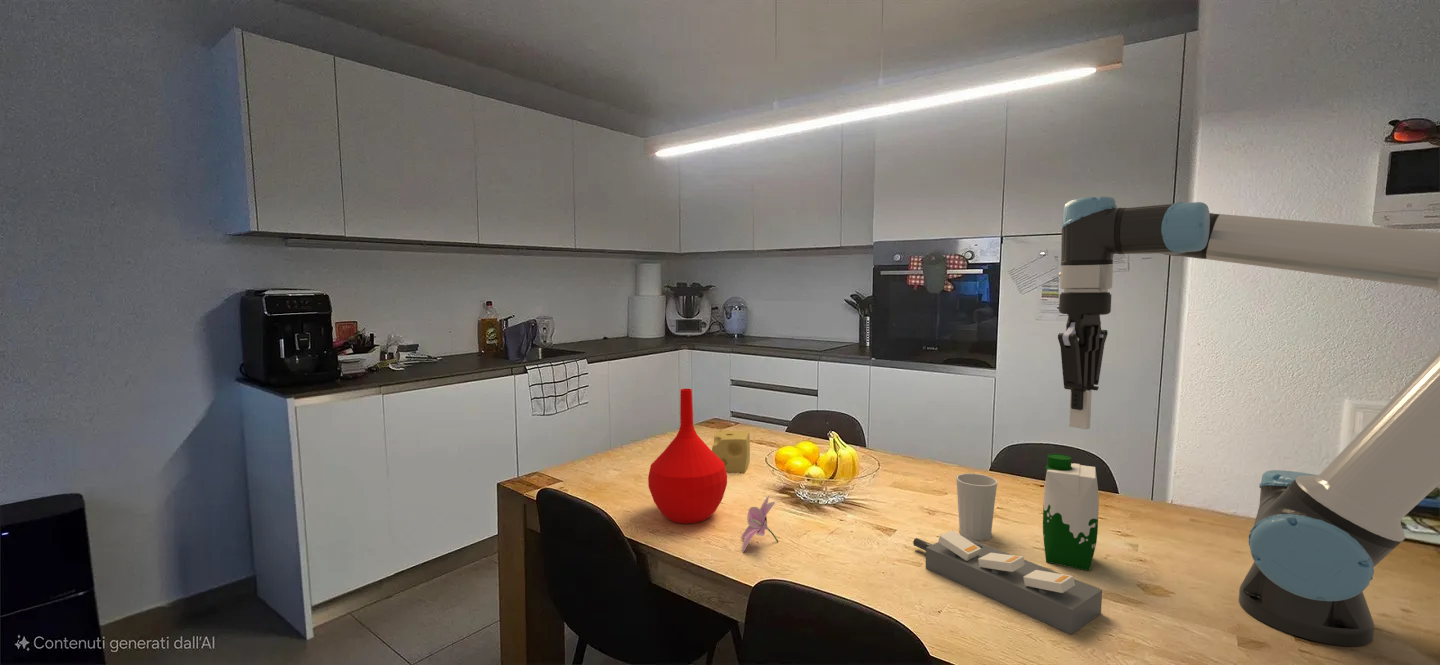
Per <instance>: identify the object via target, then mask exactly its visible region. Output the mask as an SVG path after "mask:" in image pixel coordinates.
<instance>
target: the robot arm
mask: <svg viewBox="0 0 1440 665" xmlns="http://www.w3.org/2000/svg"><path fill="white" fill-rule="evenodd" d="M1116 204H1117V203H1116V199H1115V197H1111V196H1093V197H1092V196H1090V197H1080V198H1075V199H1070V200H1068V202H1066V203H1065V204H1064V207H1063V213H1062V225H1061V227H1060V230H1061V248H1060V250H1061V257H1060V258H1061V259H1060V271H1059V272H1058V276H1059V277H1060V281H1059V283H1060V284H1059V287H1060V289H1061V290H1063V292H1061V293H1060V294H1059V299H1058V304H1059V305H1058V311H1059V313H1060V314H1062V315H1067V321H1066V325H1065V333H1063V332H1062V333H1061V332H1059V333H1058V334H1057V340H1058V343H1059V347H1060V355H1061V356H1060V357H1061V368H1062V379H1063V388H1064V390H1070V399H1069V400H1070V402H1069V403H1070V404H1069V427H1070V428H1071V427H1072V428H1076V429H1083V430H1088V429H1091V418H1092V417H1091V414H1092V412H1091V411H1092V409H1091V408H1092V395H1093V394H1092V391H1096V392H1097V391H1098V390H1099V388H1100V387H1099V386H1097V385H1099V384H1100V383H1099V382H1100V376H1101V369H1102V364H1103V357H1104V356H1103V355H1104V349H1105V343H1106V340H1107V337H1108V333H1109V332H1108V330H1106V329H1102V326H1101V324H1102V322H1101V316H1104V315H1108V314H1110V313H1111V312H1112V293H1111V292H1108V291H1109V290H1110V289H1112V288H1113V275H1114V274H1113V273H1114V271H1113V270H1114V264H1113V263H1114V262H1113V261H1114V255H1143V254H1144V255H1145V254H1147V255H1148V254H1150V255H1151V254H1158V255H1159V254H1160V255H1165V256H1172V257H1185V258H1192V259H1200V260H1211V261H1217V262H1224V263H1225V262H1226V263H1234V264H1240V265H1249V266H1256V267H1262V268H1263V267H1265V268H1271V269H1272V268H1273V269H1280V270H1287V271H1295V272H1303V273H1310V274H1311V273H1312V274H1318V275H1324V276H1325V275H1326V276H1334V277H1341V278H1342V277H1343V278H1349V279H1356V280H1363V281H1364V280H1365V281H1373V282H1379V283H1380V282H1381V283H1386V284H1387V283H1388V284H1394V285H1395V284H1396V285H1403V286H1410V287H1417V288H1418V287H1419V288H1425V289H1432V290H1434V291H1435V292H1436V293H1437V294H1438V295H1439V296H1440V231H1430V230H1429V231H1428V230H1416V229H1405V228H1395V227H1394V228H1392V227H1382V226H1381V227H1380V226H1368V225H1357V224H1355V225H1354V224H1343V223H1332V222H1319V221H1309V220H1307V221H1306V220H1295V219H1284V218H1272V217H1271V218H1270V217H1262V216H1261V217H1259V216H1249V215H1237V214H1235V215H1234V214H1224V213H1222V214H1221V213H1213V212H1210V210H1209V206H1208V204H1206V203H1204V202H1201V201H1200V202H1199V201H1197V202H1195V201H1194V202H1181V201H1178V202H1175V203H1166V204H1154V205H1146V206H1144V205H1143V206H1134V207H1133V206H1132V207H1118V205H1116ZM1439 485H1440V349H1439V350H1438V351H1437V352H1436V354H1434V356H1432V357H1431V358H1430V359H1429V361H1427V362H1426V363H1425V365H1423V367H1422V368H1421V369H1420V370H1419V371H1418V372H1417V373H1416V374H1415V375H1413V377H1412V378H1411V379H1410V380H1409V381H1408V382H1407V383H1406V385H1404V386H1403V388H1402V389H1400V391H1399V392H1397V393H1396V395H1395V396H1394V397H1393V398H1392V399H1391V400H1390V401H1389V402H1387V404H1386V405H1385V406H1384V407H1383V408H1382V409H1381V410H1379V413H1377V415H1376V416H1375V417H1373V418H1372V419H1371V421H1369V423H1368V424H1366V426H1365V427H1364V428H1363V429H1362V430H1361V431H1360V432H1359V433H1358V434H1357V435H1356V436H1355V437H1354V439H1352V440H1351V442H1349V443H1348V445H1347V446H1346V447H1345V448H1344V449H1343V450H1342V451H1341V452H1340V453H1339V454H1338V455H1337V456H1336V457H1335V458H1334V459H1333V460H1332V461H1331V462H1330V464H1328V466H1326V467H1325V468H1324V469H1323V471H1321V472H1320V474H1312V473H1307V472H1299V471H1291V470H1279V469H1276V470H1275V469H1273V470H1267V471H1265V472H1263V473H1262V476H1261V481H1260V482H1259V485H1258V487H1259V488H1260V493H1259V494H1260V496H1259V503H1258V504H1259V505H1258V506H1259V507H1258V510H1257V513H1256V516H1255V519H1254V523H1253V526H1252V528H1251V529H1250V531H1249V534H1248V546H1249V550H1250V554H1251V558H1252V560H1253V563H1252V565H1251V567H1250V568H1249V570H1248V572H1247V574H1246V576H1245V578H1244V579H1243V581H1242V582H1241V584H1240V586H1239V592H1238V604H1239V605H1240V606H1241V608H1242V609H1243V610H1244V611H1245V612H1247V614H1249V615H1250V616H1252V617H1253V618H1255V619H1257V620H1258V621H1260V622H1262V623H1264V624H1266V625H1267V626H1270V627H1272V628H1274V629H1277V630H1279V631H1282V632H1285V633H1287V634H1290V635H1292V636H1296V637H1300V638H1302V639H1305V640H1310V641H1314V642H1318V643H1322V644H1327V645H1328V644H1329V645H1334V646H1341V647H1342V646H1343V647H1359V646H1365V645H1369V644H1371V641H1373V640H1374V632H1375V631H1374V630H1375V624H1374V620H1373V617H1372V614H1371V611H1370V607H1369V606H1368V603H1367V600H1366V597H1365V594H1364V591H1365V590H1366V589H1367V587H1368V586H1370V583H1371V581H1372V580H1373V579H1374V578H1373V576H1374V573H1375V569H1374V568H1375V567H1376V566H1377V565H1378V564H1379V563H1381V561H1382V560H1384V558H1386V557H1387V556H1388V555H1389V554H1390V553H1391V552H1392V551H1393V550H1394V549H1395V548H1396V547H1398V545H1399V544H1401V543H1402V542H1403V541H1405V539H1406V536H1405V533H1404V529H1403V526H1402V523H1401V522H1402V521H1401V520H1402V519H1403V518H1404V517H1405V516H1407V515H1408V514H1409V512H1411V511H1412V510H1413V509H1414V508H1415V507H1416V506H1418V504H1420V502H1422V501H1423V500H1424V499H1425V498H1426V497H1427V496H1428V495H1429V494H1430V493H1431V492H1432V491H1434V489H1436V488H1437V487H1438V486H1439Z"/></svg>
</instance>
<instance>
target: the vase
mask: <svg viewBox="0 0 1440 665" xmlns="http://www.w3.org/2000/svg"><path fill="white" fill-rule="evenodd" d="M679 400H680V401H679V402H680V405H679V406H680V407H679V409H680V412H679V413H680V418H679V419H680V425H679V430H678V432H677V434H676V436H675V437H674V438H673V439H672V440H671V441H670V443H669V444H668V446H666V448H665V449H664V450H663V451H662V452H661V453H660V455H658V456H657V458H655V460H654V461H653V462H652V463H651V464H650V466H649V472H648V478H647V479H648V481H647V482H648V483H647V484H648V489H649V492H650V495H651V497H652V500H653V503H654V504H655V506H656V507H657V509H658V510H659V511H660V513H661V514H662V515H663V516H664V517H666V518H667V519H668V520H669V521H671V522H674V523H677V524H678V523H679V524H696V523H697V524H698V523H701V522H704V521H705V520H708V519H709V518H710V517H711V516H712V515H713V514H714V513H715V512H716V510H717V509H718V507H719V506H720V505H721V502H722V500H723V498H724V495H725V492H726V488H727V486H728V472H726V468H725V464H724V462H723V461H722V460H721V459H720V458H719V457H718V456H717V455H716V454H715V453H714V452H713V451H712V449H711V448H710V447H709V446H708V445H707V444H706V443H705V441H703V440H702V438H700V436H699V435H698V433H697V432H696V430H695V426H694V409H693V406H694V404H693V389H692V388H681V389H680V399H679Z"/></svg>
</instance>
